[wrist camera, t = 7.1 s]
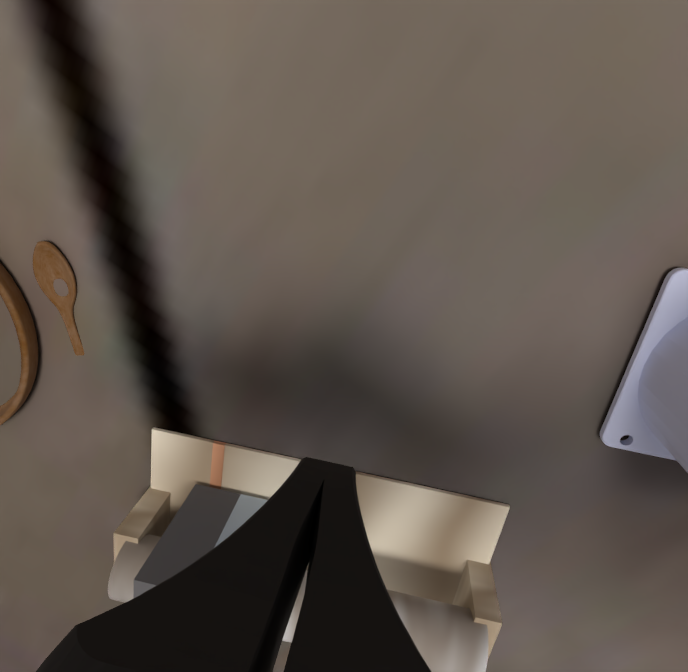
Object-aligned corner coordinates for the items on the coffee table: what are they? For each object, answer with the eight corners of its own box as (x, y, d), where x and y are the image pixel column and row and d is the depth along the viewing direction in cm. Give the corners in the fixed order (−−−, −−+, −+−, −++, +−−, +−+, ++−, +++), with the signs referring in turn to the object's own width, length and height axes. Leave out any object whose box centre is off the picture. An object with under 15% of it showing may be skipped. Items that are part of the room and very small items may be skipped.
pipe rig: (511, 505, 23) (536, 594, 19) (455, 657, 27) (464, 762, 23) (152, 426, 24) (90, 492, 20) (148, 584, 29) (97, 670, 24)
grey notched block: (240, 494, 25) (183, 609, 18) (231, 579, 27) (178, 708, 21) (195, 483, 25) (123, 594, 19) (190, 570, 27) (124, 694, 21)
